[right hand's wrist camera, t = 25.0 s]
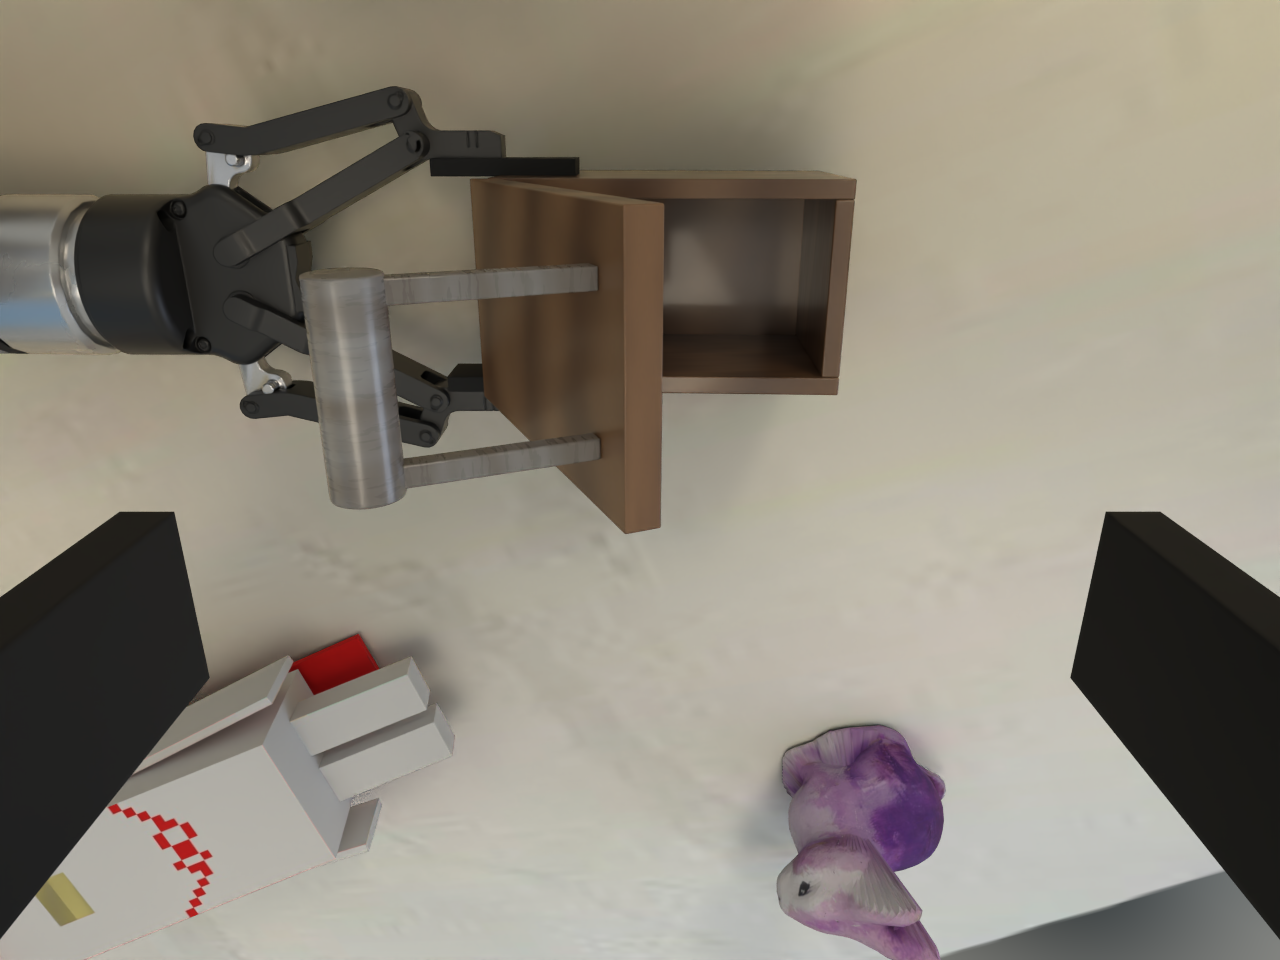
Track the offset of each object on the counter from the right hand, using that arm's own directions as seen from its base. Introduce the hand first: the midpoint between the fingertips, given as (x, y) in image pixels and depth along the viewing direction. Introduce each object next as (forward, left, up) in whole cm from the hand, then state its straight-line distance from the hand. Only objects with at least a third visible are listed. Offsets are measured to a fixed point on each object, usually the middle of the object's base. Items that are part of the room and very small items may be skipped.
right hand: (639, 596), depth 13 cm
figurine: (+23, +30, -38) cm, 53 cm away
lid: (+1, -2, -20) cm, 20 cm away
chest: (-1, +2, -38) cm, 38 cm away
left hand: (+2, -2, -32) cm, 32 cm away
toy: (+41, -8, -38) cm, 56 cm away
